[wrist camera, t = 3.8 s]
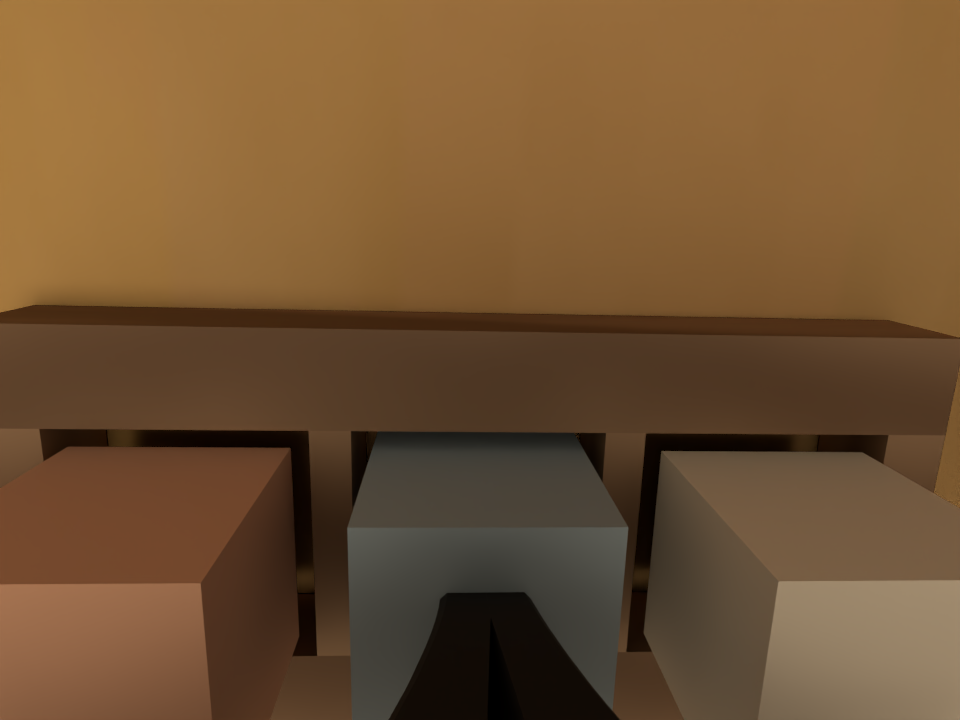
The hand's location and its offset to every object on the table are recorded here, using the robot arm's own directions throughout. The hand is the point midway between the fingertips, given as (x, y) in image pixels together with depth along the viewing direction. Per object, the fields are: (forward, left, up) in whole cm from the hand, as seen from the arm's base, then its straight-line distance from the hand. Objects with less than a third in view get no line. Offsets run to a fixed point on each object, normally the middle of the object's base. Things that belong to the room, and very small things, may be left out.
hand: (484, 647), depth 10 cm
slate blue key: (0, 0, -4) cm, 4 cm away
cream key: (-3, -5, -3) cm, 7 cm away
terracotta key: (+3, +5, -3) cm, 7 cm away
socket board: (0, 0, -5) cm, 5 cm away
